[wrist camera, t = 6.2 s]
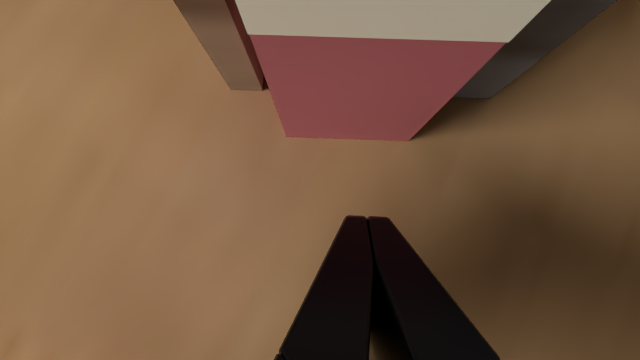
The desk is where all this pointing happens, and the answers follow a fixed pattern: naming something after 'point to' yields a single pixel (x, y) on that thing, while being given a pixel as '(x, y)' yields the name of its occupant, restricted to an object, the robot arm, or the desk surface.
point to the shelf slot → (501, 69)
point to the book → (374, 59)
